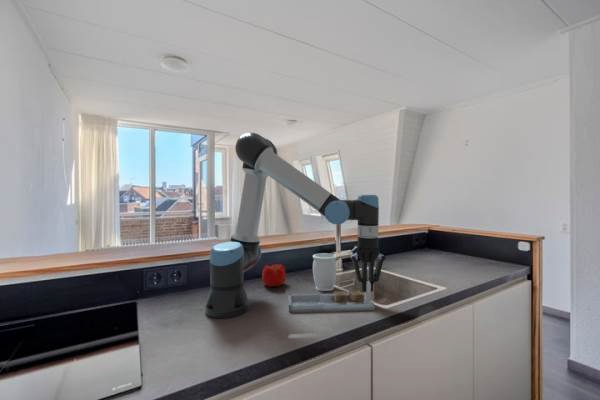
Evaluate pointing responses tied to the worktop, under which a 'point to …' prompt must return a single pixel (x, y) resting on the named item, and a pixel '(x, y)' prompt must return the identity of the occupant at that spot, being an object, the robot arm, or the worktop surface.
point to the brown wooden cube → (356, 296)
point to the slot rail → (324, 303)
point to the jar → (324, 271)
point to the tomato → (274, 275)
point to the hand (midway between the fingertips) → (367, 300)
